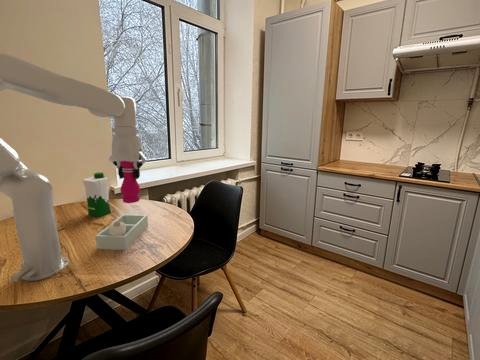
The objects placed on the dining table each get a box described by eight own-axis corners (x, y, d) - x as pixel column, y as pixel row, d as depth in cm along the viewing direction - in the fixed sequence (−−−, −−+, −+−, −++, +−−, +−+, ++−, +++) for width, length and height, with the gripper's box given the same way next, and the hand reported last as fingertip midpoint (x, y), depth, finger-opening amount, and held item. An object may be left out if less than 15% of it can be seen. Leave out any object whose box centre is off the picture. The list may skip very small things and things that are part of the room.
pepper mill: (118, 200, 104) (114, 150, 99) (136, 196, 109) (132, 149, 104) (125, 204, 99) (121, 152, 94) (144, 201, 104) (141, 151, 99)
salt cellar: (122, 246, 95) (120, 224, 93) (107, 245, 96) (105, 224, 93) (129, 239, 101) (127, 218, 99) (115, 238, 101) (113, 218, 99)
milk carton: (113, 212, 130) (109, 173, 125) (98, 218, 122) (92, 177, 117) (101, 209, 133) (96, 171, 128) (84, 215, 125) (79, 175, 120)
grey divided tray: (126, 252, 93) (124, 237, 92) (97, 251, 93) (95, 236, 92) (148, 228, 113) (147, 215, 111) (124, 227, 113) (122, 214, 112)
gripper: (98, 131, 94) (103, 179, 98) (143, 132, 93) (146, 181, 97) (109, 130, 101) (113, 175, 106) (152, 131, 100) (154, 177, 105)
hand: (129, 177), depth 102 cm, fingers closed on pepper mill, 5 cm apart
